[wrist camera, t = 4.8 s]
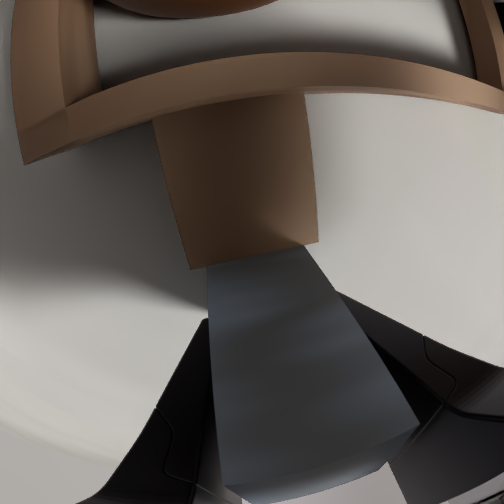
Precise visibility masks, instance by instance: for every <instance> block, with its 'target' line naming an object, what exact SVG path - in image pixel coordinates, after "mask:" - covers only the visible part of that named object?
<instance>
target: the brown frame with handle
mask: <svg viewBox="0 0 504 504" xmlns="http://www.w3.org/2000/svg"><path fill="white" fill-rule="evenodd" d="M459 3H460V6H461V9H462V12H463V15H464V18H465V22H466V25H467V29H468V33H469V37H470V41H471V45H472V50H473V54H474V60H475V65H476V71H477V78H478V81H477V80H474V79H471V78H468V77H465V76H462V75H459V74H456V73H452V72H449V71H446V70H442V69H438V68H435V67H431V66H426V65H422V64H418V63H413V62H408V61H403V60H397V59H391V58H385V57H378V56H370V55H361V54H350V53H334V52H280V53H265V54H253V55H244V56H236V57H229V58H222V59H216V60H210V61H204V62H199V63H194V64H190V65H185V66H181V67H177V68H172V69H169V70H165V71H161V72H157V73H154V74H150V75H147V76H144V77H141V78H137V79H134V80H131V81H128V82H125V83H123V84H120V85H117V86H114V87H112V88H109V89H106V90H104V91H101V84H100V77H99V70H98V62H97V53H96V43H95V31H94V12H93V0H15V4H14V12H13V21H12V33H11V82H12V95H13V105H14V113H15V120H16V127H17V133H18V138H19V143H20V148H21V153H22V157H23V162H24V165H27V164H30V163H32V162H35V161H38V160H41V159H44V158H47V157H50V156H53V155H56V154H59V153H62V152H65V151H69V150H71V149H73V148H76V147H78V146H80V145H83V144H85V143H88V142H90V141H93V140H95V139H98V138H100V137H103V136H106V135H108V134H111V133H114V132H117V131H120V130H123V129H126V128H129V127H132V126H135V125H138V124H141V123H144V122H148V121H151V120H152V123H153V128H154V133H155V137H156V142H157V146H158V151H159V155H160V160H161V164H162V168H163V172H164V176H165V180H166V184H167V188H168V192H169V196H170V200H171V204H172V207H173V211H174V215H175V218H176V222H177V225H178V229H179V232H180V236H181V239H182V243H183V246H184V249H185V253H186V256H187V259H188V263H189V266H190V269H196V268H200V267H205V266H207V295H208V320H209V339H210V356H211V371H212V384H213V396H214V408H215V418H216V428H217V438H218V447H219V455H220V464H221V471H222V479H223V486H225V487H226V488H228V489H229V490H231V491H232V492H234V493H235V494H237V495H238V496H240V497H241V498H243V499H245V500H246V501H248V502H249V503H251V504H270V503H275V502H281V501H285V500H289V499H294V498H298V497H302V496H306V495H310V494H314V493H317V492H321V491H324V490H327V489H330V488H333V487H336V486H339V485H342V484H345V483H348V482H350V481H353V480H356V479H358V478H361V477H363V476H366V475H368V474H370V473H373V472H375V471H377V470H379V469H380V468H381V467H382V466H383V465H384V464H385V463H386V462H387V461H388V460H389V459H390V458H391V457H392V456H393V455H394V454H395V452H396V451H397V450H398V449H399V448H400V447H401V446H402V445H403V444H404V442H405V441H406V440H407V439H408V438H409V437H410V435H411V434H412V433H413V432H414V431H415V429H416V428H417V427H418V426H419V424H420V423H419V421H418V419H417V418H416V416H415V414H414V412H413V411H412V409H411V407H410V406H409V404H408V402H407V400H406V399H405V397H404V395H403V394H402V392H401V390H400V389H399V387H398V385H397V384H396V382H395V381H394V379H393V377H392V376H391V374H390V372H389V371H388V369H387V368H386V366H385V364H384V363H383V361H382V360H381V358H380V356H379V355H378V353H377V352H376V350H375V349H374V347H373V345H372V344H371V342H370V341H369V339H368V338H367V336H366V335H365V333H364V332H363V330H362V329H361V327H360V326H359V324H358V323H357V321H356V320H355V318H354V317H353V315H352V314H351V312H350V311H349V309H348V308H347V306H346V305H345V303H344V302H343V300H342V299H341V297H340V296H339V295H338V293H337V292H336V290H335V289H334V287H333V286H332V284H331V283H330V282H329V280H328V279H327V277H326V276H325V274H324V273H323V272H322V270H321V269H320V267H319V266H318V265H317V263H316V262H315V260H314V259H313V258H312V256H311V255H310V253H309V252H308V251H307V249H306V248H305V247H304V245H307V244H311V243H316V242H319V241H318V222H317V207H316V194H315V182H314V171H313V161H312V152H311V143H310V135H309V127H308V119H307V112H306V105H305V98H304V94H316V93H370V94H387V95H400V96H410V97H418V98H426V99H433V100H439V101H445V102H451V103H456V104H461V105H466V106H470V107H475V108H479V109H483V110H487V111H490V112H494V113H499V114H504V34H503V30H502V27H501V24H500V20H499V17H498V14H497V11H496V8H495V6H494V3H493V0H459Z"/></svg>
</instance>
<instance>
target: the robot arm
mask: <svg viewBox="0 0 504 504" xmlns="http://www.w3.org/2000/svg"><path fill="white" fill-rule="evenodd" d="M493 3H494V6H495V8H496V11H497V14H498V17H499V20H500V24H501V27H502V30H503V34H504V0H493ZM336 292H337V293H338V295H339V296H340V297H341V299H342V300H343V302H344V303H345V305H346V306H347V308H348V309H349V311H350V312H351V314H352V315H353V317H354V318H355V320H356V321H357V323H358V324H359V326H360V327H361V329H362V330H363V332H364V333H365V335H366V336H367V338H368V339H369V341H370V342H371V344H372V345H373V347H374V349H375V350H376V352H377V353H378V355H379V356H380V358H381V360H382V361H383V363H384V364H385V366H386V368H387V369H388V371H389V372H390V374H391V376H392V377H393V379H394V381H395V382H396V384H397V385H398V387H399V389H400V390H401V392H402V394H403V395H404V397H405V399H406V400H407V402H408V404H409V406H410V407H411V409H412V411H413V412H414V414H415V416H416V418H417V419H418V421H419V423H420V424H419V426H418V427H417V428H416V429H415V431H414V432H413V433H412V434H411V435H410V437H409V438H408V439H407V440H406V441H405V442H404V444H403V445H402V446H401V447H400V448H399V449H398V450H397V451H396V452H395V454H394V455H393V456H392V457H391V458H390V459H389V460H388V463H389V465H390V468H391V470H392V472H393V474H394V476H395V478H396V480H397V483H398V485H399V487H400V489H401V491H402V493H403V495H404V498H405V500H406V502H407V504H440V503H442V502H445V501H447V500H448V502H449V504H504V368H503V367H499V366H495V365H493V364H490V363H487V362H485V361H482V360H479V359H477V358H474V357H472V356H469V355H466V354H464V353H461V352H459V351H457V350H454V349H452V348H449V347H447V346H445V345H443V344H441V343H439V342H437V341H435V340H433V339H431V338H429V337H427V336H423V335H422V334H421V333H419V332H417V331H415V330H413V329H411V328H409V327H407V326H405V325H403V324H401V323H399V322H397V321H395V320H393V319H391V318H389V317H387V316H385V315H383V314H381V313H379V312H377V311H375V310H373V309H371V308H369V307H367V306H366V305H364V304H362V303H360V302H358V301H356V300H354V299H352V298H350V297H348V296H346V295H344V294H342V293H340V292H338V291H336ZM76 504H242V499H241V497H240V496H238V495H237V494H235V493H234V492H232V491H231V490H229V489H228V488H226V487H225V486H223V479H222V471H221V464H220V455H219V447H218V438H217V428H216V418H215V408H214V396H213V384H212V371H211V356H210V339H209V320H208V318H205V319H203V320H202V321H201V323H200V325H199V327H198V329H197V331H196V332H195V334H194V336H193V338H192V340H191V342H190V343H189V345H188V347H187V349H186V351H185V353H184V355H183V356H182V358H181V360H180V362H179V364H178V366H177V367H176V369H175V371H174V373H173V375H172V377H171V379H170V381H169V382H168V384H167V386H166V388H165V390H164V392H163V394H162V395H161V397H160V399H159V401H158V403H157V405H156V408H155V409H154V410H153V412H152V414H151V416H150V418H149V420H148V421H147V423H146V425H145V427H144V428H143V430H142V432H141V434H140V435H139V437H138V438H137V440H136V441H135V443H134V444H133V446H132V447H131V449H130V450H129V452H128V453H127V455H126V456H125V457H124V459H123V460H122V462H121V463H120V465H119V466H118V467H117V469H116V470H115V472H114V473H113V474H112V476H111V477H110V479H109V480H108V481H107V483H106V484H105V485H104V486H103V487H102V488H101V489H100V490H99V491H98V492H97V493H96V494H94V495H93V496H91V497H90V498H87V499H85V500H83V501H81V502H79V503H76Z"/></svg>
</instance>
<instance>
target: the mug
mask: <svg viewBox="0 0 504 504" xmlns="http://www.w3.org/2000/svg"><path fill="white" fill-rule="evenodd" d="M109 1H110V2H112V3H114V4H116V5H118V6H120V7H123V8H125V9H127V10H130V11H134V12H137V13H140V14H146V15H151V16H158V17H168V18H201V17H212V16H222V15H227V14H233V13H239V12H243V11H247V10H251V9H255V8H258V7H261V6H264V5H267V4H270V3H272V2H274V1H277V0H109Z"/></svg>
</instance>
